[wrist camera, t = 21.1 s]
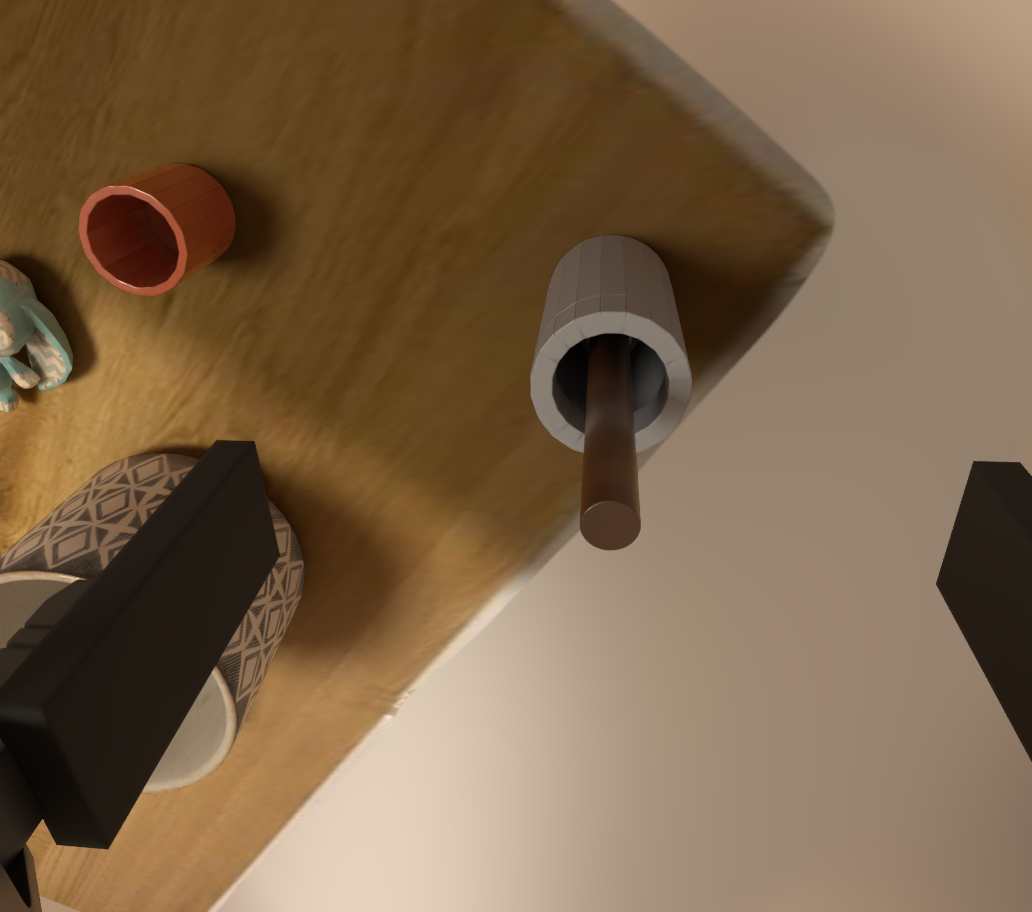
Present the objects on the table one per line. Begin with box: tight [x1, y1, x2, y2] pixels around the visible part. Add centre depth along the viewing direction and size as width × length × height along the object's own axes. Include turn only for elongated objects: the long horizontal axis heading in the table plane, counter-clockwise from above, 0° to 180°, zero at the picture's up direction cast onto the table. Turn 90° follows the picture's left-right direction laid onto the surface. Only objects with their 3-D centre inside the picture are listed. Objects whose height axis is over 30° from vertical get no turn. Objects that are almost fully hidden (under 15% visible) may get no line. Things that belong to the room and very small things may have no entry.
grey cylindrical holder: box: [531, 235, 692, 453], centre depth 45 cm, size 8×8×14 cm
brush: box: [580, 333, 641, 550], centre depth 40 cm, size 4×4×25 cm
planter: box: [0, 453, 305, 793], centre depth 57 cm, size 19×19×16 cm
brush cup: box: [78, 163, 236, 295], centre depth 48 cm, size 6×6×7 cm
